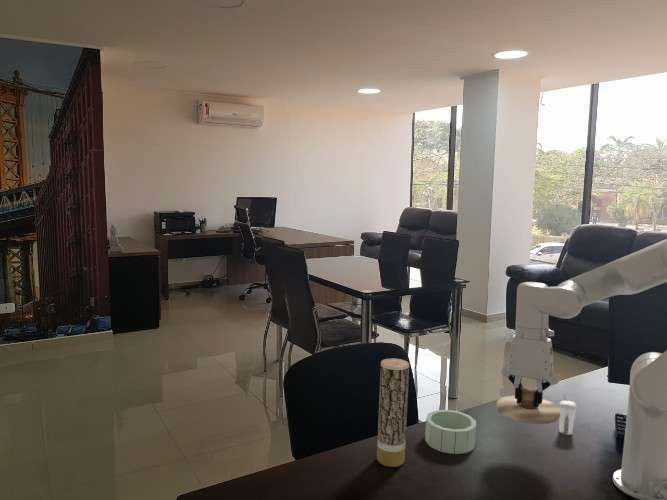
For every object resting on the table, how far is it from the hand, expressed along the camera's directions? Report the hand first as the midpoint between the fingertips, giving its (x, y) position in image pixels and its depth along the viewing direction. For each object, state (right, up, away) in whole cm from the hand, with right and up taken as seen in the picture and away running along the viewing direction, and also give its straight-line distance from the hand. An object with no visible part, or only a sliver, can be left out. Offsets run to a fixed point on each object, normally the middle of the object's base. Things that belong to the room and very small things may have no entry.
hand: (528, 403), depth 132 cm
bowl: (-18, -13, +8) cm, 24 cm away
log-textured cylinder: (-35, -14, -2) cm, 38 cm away
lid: (0, -2, 0) cm, 2 cm away
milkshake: (+16, -13, +16) cm, 26 cm away
